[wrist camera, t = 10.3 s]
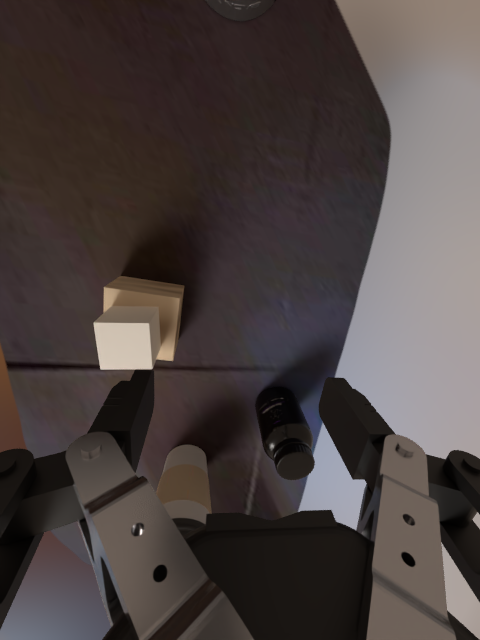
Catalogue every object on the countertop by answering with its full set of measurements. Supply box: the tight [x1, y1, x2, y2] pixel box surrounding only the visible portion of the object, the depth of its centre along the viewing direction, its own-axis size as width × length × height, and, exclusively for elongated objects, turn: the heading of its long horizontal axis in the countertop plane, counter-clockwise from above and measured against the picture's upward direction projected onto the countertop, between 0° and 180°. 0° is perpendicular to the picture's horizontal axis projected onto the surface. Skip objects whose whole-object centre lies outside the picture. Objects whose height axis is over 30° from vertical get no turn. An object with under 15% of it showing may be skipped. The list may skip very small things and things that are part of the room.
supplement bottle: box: [255, 387, 315, 480], centre depth 38 cm, size 7×7×12 cm
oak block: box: [104, 276, 185, 361], centre depth 34 cm, size 8×8×6 cm
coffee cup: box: [156, 445, 212, 536], centre depth 40 cm, size 9×9×15 cm
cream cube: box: [94, 306, 161, 369], centre depth 29 cm, size 5×5×5 cm
